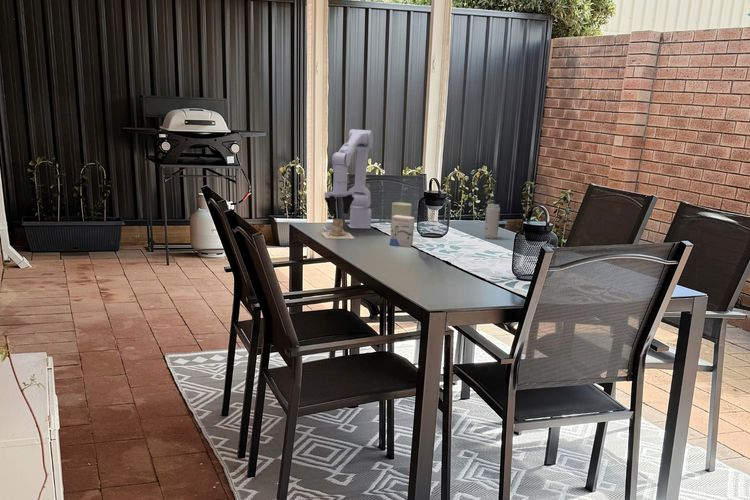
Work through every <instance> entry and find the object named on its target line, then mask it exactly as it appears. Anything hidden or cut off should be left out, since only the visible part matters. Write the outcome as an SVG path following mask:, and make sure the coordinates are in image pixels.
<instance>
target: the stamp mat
mask: <svg viewBox="0 0 750 500" xmlns="http://www.w3.org/2000/svg"><path fill="white" fill-rule="evenodd" d="M321 234H322V236H323V237H324V238H325V239H327V240H331V239H332V240H337V239H338V240H355V239H356V238H355V237H354V236H353V235H352V234H351V233H350V232H346V236H337V237H336V236H333V235H329V232H325V231H323V232H321Z"/></svg>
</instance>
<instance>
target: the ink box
mask: <svg viewBox="0 0 750 500" xmlns="http://www.w3.org/2000/svg"><path fill="white" fill-rule="evenodd" d="M390 227H391V228H390V239H389V245H391V246H397V247H405V248H410V247H412V246H413V244H414V243H413V242H414V231H415V229H414V228H415V216H411V217H410V216H402V215H394V216H393V217H392V225H391V224H390Z"/></svg>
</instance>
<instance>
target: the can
mask: <svg viewBox="0 0 750 500" xmlns="http://www.w3.org/2000/svg"><path fill="white" fill-rule="evenodd" d="M412 206H413V205H412V203H409V202H403V201H402V202H401V201H398V202H397V201H395V202H392V203H391V218H390V229H391V225H392V217H393V216H394V215H402V216H410V217H412Z"/></svg>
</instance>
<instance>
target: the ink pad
mask: <svg viewBox="0 0 750 500" xmlns="http://www.w3.org/2000/svg"><path fill="white" fill-rule="evenodd" d="M322 230H323V232H329V231H332V230H333V226H322ZM343 231H344V229H343Z"/></svg>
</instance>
